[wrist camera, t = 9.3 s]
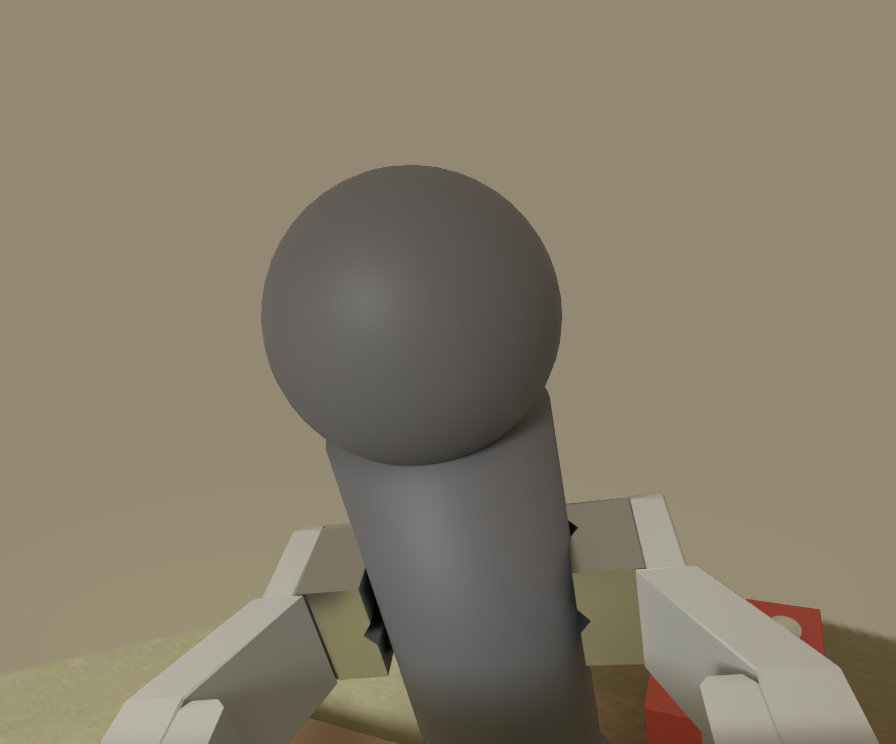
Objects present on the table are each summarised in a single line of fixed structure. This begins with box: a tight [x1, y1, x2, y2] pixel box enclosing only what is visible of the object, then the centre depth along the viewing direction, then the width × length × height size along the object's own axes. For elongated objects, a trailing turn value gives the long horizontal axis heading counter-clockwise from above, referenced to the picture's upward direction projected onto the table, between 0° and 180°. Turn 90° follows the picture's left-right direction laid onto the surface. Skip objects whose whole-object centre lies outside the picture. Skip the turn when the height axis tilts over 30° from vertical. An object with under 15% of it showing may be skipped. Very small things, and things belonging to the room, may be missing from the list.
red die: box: [644, 599, 825, 744], centre depth 21 cm, size 5×5×5 cm
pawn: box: [261, 165, 610, 744], centre depth 10 cm, size 4×4×13 cm
